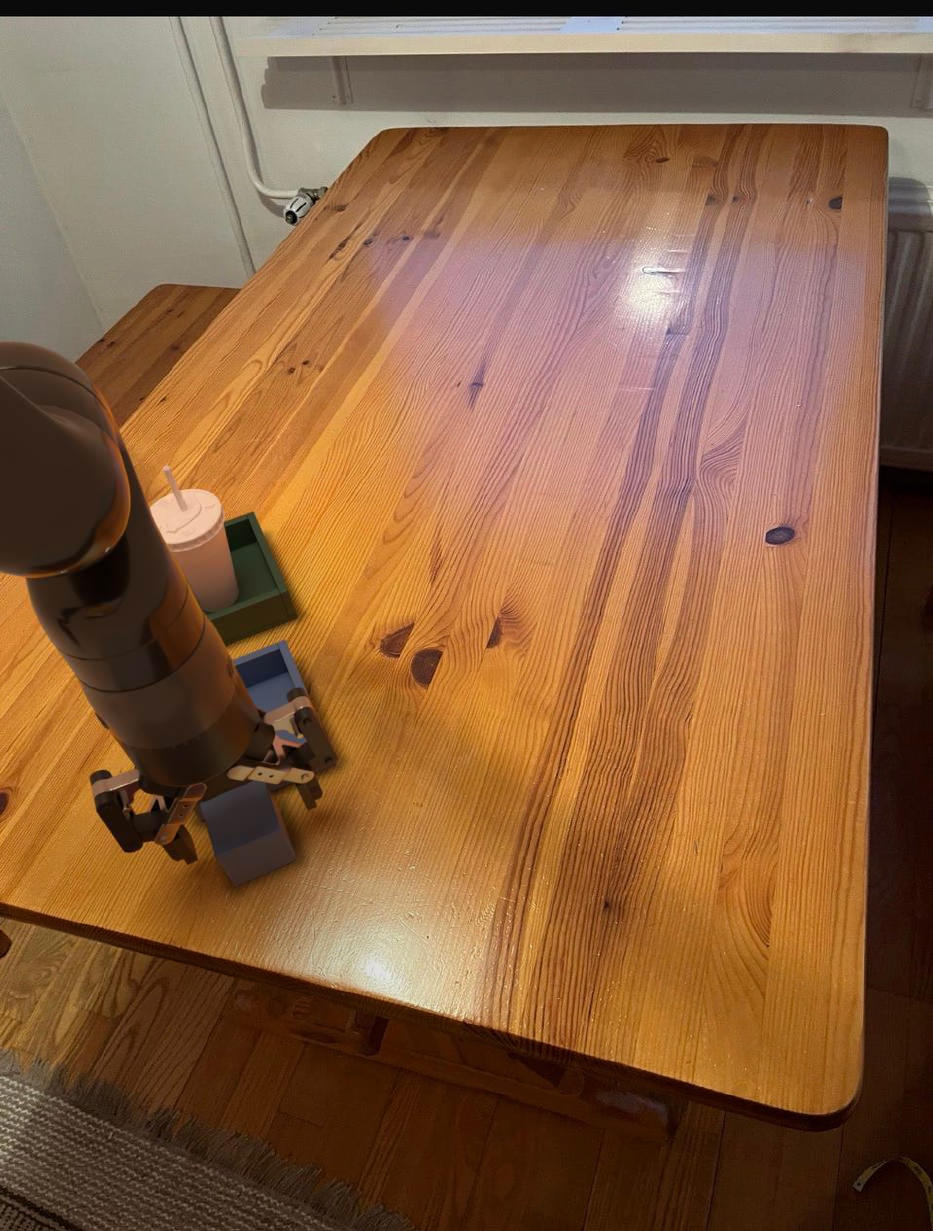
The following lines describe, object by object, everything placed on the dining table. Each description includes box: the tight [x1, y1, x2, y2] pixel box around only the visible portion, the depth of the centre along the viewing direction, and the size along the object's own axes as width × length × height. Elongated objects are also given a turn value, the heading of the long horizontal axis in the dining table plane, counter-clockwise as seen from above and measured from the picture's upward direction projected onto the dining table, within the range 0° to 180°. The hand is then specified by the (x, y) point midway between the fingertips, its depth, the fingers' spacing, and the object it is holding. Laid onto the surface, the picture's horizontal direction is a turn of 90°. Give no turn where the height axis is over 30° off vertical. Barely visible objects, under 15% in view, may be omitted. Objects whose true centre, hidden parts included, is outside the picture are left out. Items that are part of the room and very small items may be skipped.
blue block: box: [200, 780, 298, 888], centre depth 64 cm, size 4×4×4 cm
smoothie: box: [149, 465, 239, 612], centre depth 75 cm, size 6×6×14 cm
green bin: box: [203, 511, 299, 647], centre depth 80 cm, size 11×11×4 cm
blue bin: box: [193, 639, 337, 822], centre depth 70 cm, size 10×10×4 cm
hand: (250, 824), depth 64 cm, fingers open, 8 cm apart
